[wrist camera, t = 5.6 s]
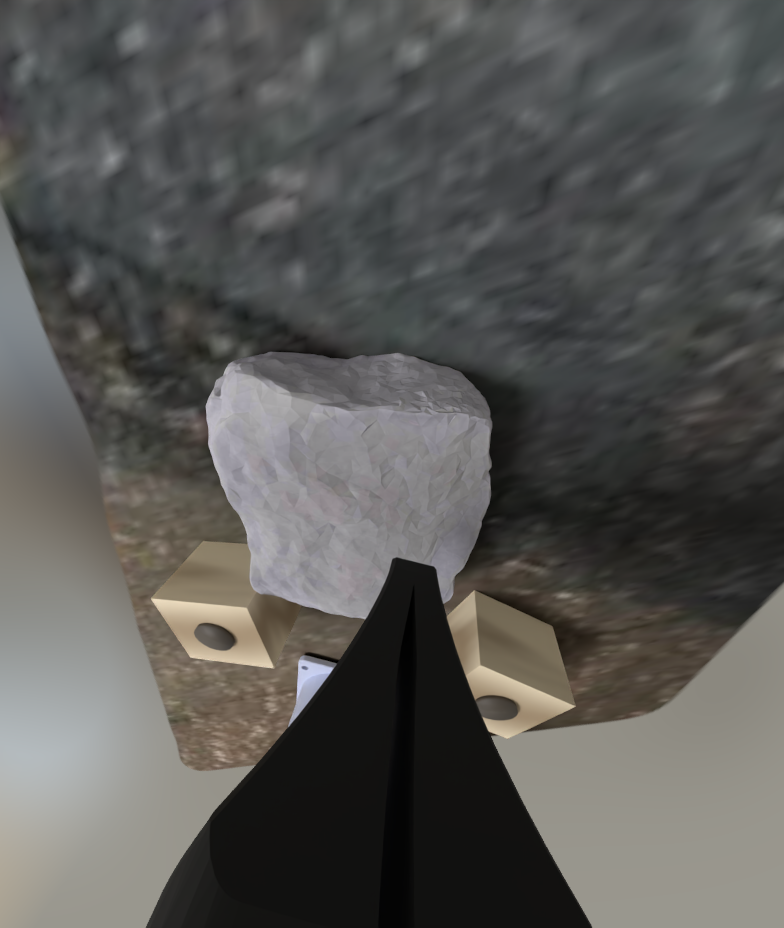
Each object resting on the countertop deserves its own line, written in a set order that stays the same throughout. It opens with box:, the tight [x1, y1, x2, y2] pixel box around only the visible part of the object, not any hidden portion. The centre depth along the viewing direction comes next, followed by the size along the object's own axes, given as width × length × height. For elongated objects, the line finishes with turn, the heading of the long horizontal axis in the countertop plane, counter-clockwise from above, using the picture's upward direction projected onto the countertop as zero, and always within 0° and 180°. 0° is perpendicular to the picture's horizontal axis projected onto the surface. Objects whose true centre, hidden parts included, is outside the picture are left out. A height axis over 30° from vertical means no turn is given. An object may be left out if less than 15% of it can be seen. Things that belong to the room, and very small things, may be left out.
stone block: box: [206, 352, 492, 619], centre depth 14 cm, size 12×5×10 cm
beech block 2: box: [447, 590, 576, 739], centre depth 17 cm, size 5×5×4 cm
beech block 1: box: [151, 541, 302, 668], centre depth 18 cm, size 5×5×4 cm
